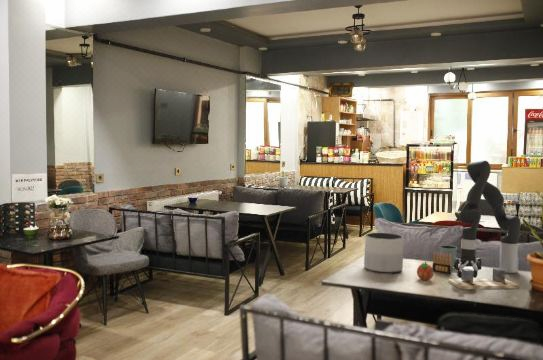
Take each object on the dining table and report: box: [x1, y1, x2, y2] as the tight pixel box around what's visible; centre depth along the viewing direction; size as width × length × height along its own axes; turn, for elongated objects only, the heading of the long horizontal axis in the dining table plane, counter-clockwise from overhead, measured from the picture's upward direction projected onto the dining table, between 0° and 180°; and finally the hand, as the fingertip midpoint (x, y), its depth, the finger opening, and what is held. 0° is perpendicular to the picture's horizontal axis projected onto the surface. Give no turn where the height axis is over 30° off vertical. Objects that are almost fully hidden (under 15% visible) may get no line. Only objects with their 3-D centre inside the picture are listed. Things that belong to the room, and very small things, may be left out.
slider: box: [460, 268, 474, 283], centre depth 276 cm, size 4×8×6 cm, turn 8°
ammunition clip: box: [431, 251, 452, 275], centre depth 301 cm, size 11×2×12 cm, turn 55°
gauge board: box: [447, 267, 520, 290], centre depth 276 cm, size 32×14×8 cm, turn 98°
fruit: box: [416, 261, 434, 281], centre depth 284 cm, size 9×10×10 cm
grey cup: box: [439, 244, 458, 269], centre depth 318 cm, size 10×10×12 cm
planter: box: [363, 232, 404, 274], centre depth 306 cm, size 22×22×20 cm
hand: (467, 277), depth 277 cm, fingers open, 8 cm apart
